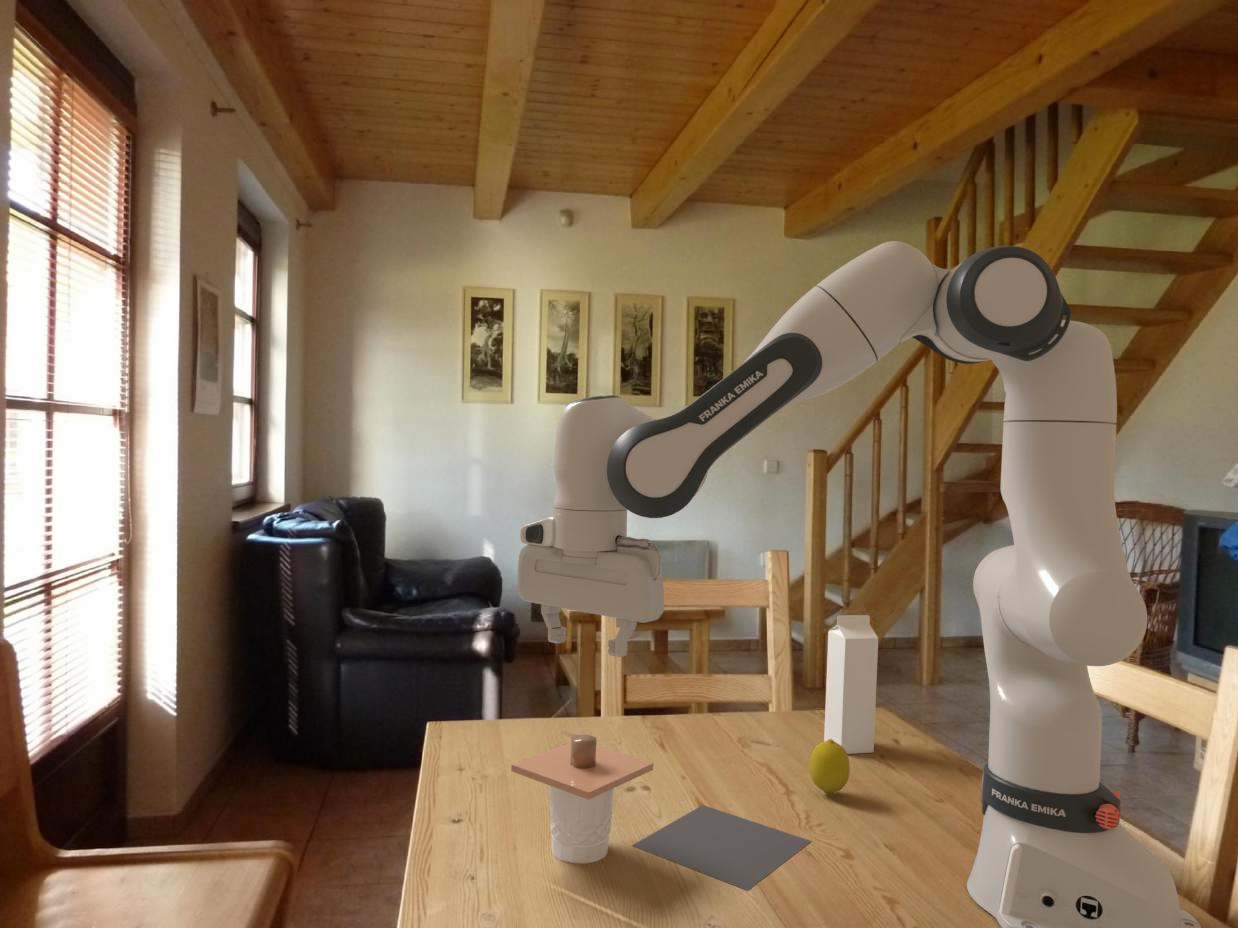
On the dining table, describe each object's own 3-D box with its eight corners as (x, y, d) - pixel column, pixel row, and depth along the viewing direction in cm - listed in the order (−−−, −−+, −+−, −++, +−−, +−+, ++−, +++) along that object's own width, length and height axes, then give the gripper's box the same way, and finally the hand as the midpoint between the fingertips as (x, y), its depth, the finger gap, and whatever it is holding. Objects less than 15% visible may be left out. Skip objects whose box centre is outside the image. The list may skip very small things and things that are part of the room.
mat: (811, 844, 108) (811, 840, 108) (747, 893, 96) (747, 890, 96) (702, 807, 118) (702, 804, 118) (631, 848, 105) (631, 845, 105)
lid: (653, 769, 105) (654, 738, 105) (588, 799, 95) (589, 765, 95) (578, 745, 112) (579, 716, 112) (511, 771, 103) (512, 739, 103)
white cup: (557, 834, 109) (559, 755, 108) (618, 842, 107) (621, 761, 107) (538, 863, 101) (541, 778, 101) (604, 872, 99) (607, 786, 99)
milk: (823, 742, 146) (827, 611, 146) (856, 740, 148) (860, 611, 147) (841, 754, 140) (845, 619, 140) (875, 752, 142) (879, 618, 141)
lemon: (849, 804, 121) (852, 747, 120) (808, 800, 122) (811, 743, 122) (847, 789, 126) (849, 734, 126) (808, 785, 127) (810, 731, 127)
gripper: (677, 538, 99) (673, 659, 99) (545, 524, 112) (542, 631, 112) (644, 542, 94) (640, 669, 94) (510, 527, 107) (507, 639, 107)
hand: (586, 648), depth 103 cm, fingers open, 8 cm apart
